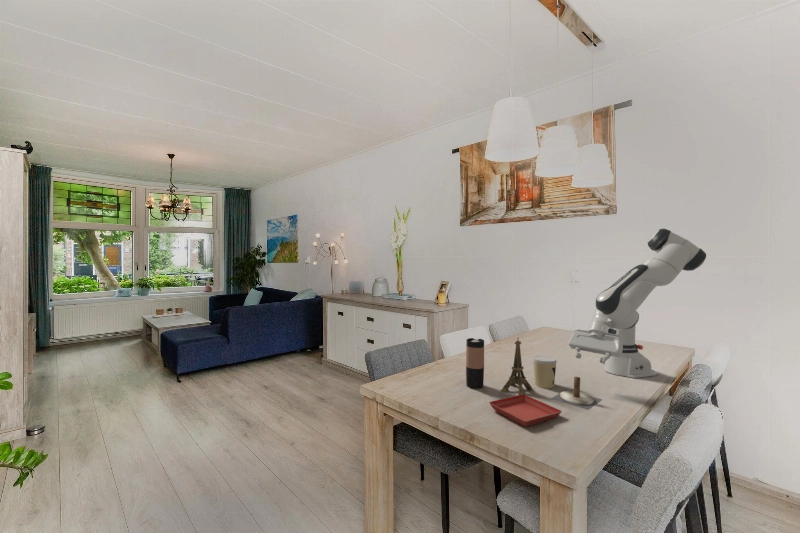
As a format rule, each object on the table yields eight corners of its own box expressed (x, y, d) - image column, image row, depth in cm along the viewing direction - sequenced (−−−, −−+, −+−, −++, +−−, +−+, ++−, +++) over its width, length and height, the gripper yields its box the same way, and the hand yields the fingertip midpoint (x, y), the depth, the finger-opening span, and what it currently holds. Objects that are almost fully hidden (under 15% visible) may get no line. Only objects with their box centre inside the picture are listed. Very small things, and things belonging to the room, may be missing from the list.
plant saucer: (523, 401, 148) (523, 393, 148) (562, 419, 132) (563, 410, 132) (487, 410, 139) (487, 401, 139) (525, 431, 123) (525, 421, 123)
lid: (581, 392, 155) (582, 372, 155) (600, 404, 143) (601, 382, 143) (554, 393, 154) (554, 373, 153) (570, 405, 142) (571, 383, 141)
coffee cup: (558, 390, 158) (558, 362, 158) (534, 388, 160) (535, 360, 160) (553, 382, 167) (554, 356, 167) (531, 381, 169) (531, 354, 169)
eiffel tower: (524, 397, 151) (525, 335, 150) (499, 391, 158) (500, 331, 157) (534, 390, 159) (535, 331, 158) (510, 384, 166) (511, 327, 165)
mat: (566, 390, 158) (566, 389, 158) (602, 400, 148) (602, 399, 148) (550, 399, 149) (550, 398, 149) (588, 410, 139) (588, 409, 139)
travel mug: (473, 390, 158) (473, 343, 157) (462, 384, 165) (462, 339, 164) (487, 387, 162) (488, 341, 161) (476, 381, 169) (476, 337, 168)
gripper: (572, 324, 167) (562, 350, 161) (623, 332, 152) (614, 361, 146) (576, 333, 170) (566, 359, 164) (627, 341, 155) (618, 370, 149)
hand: (589, 360), depth 155 cm, fingers open, 8 cm apart
